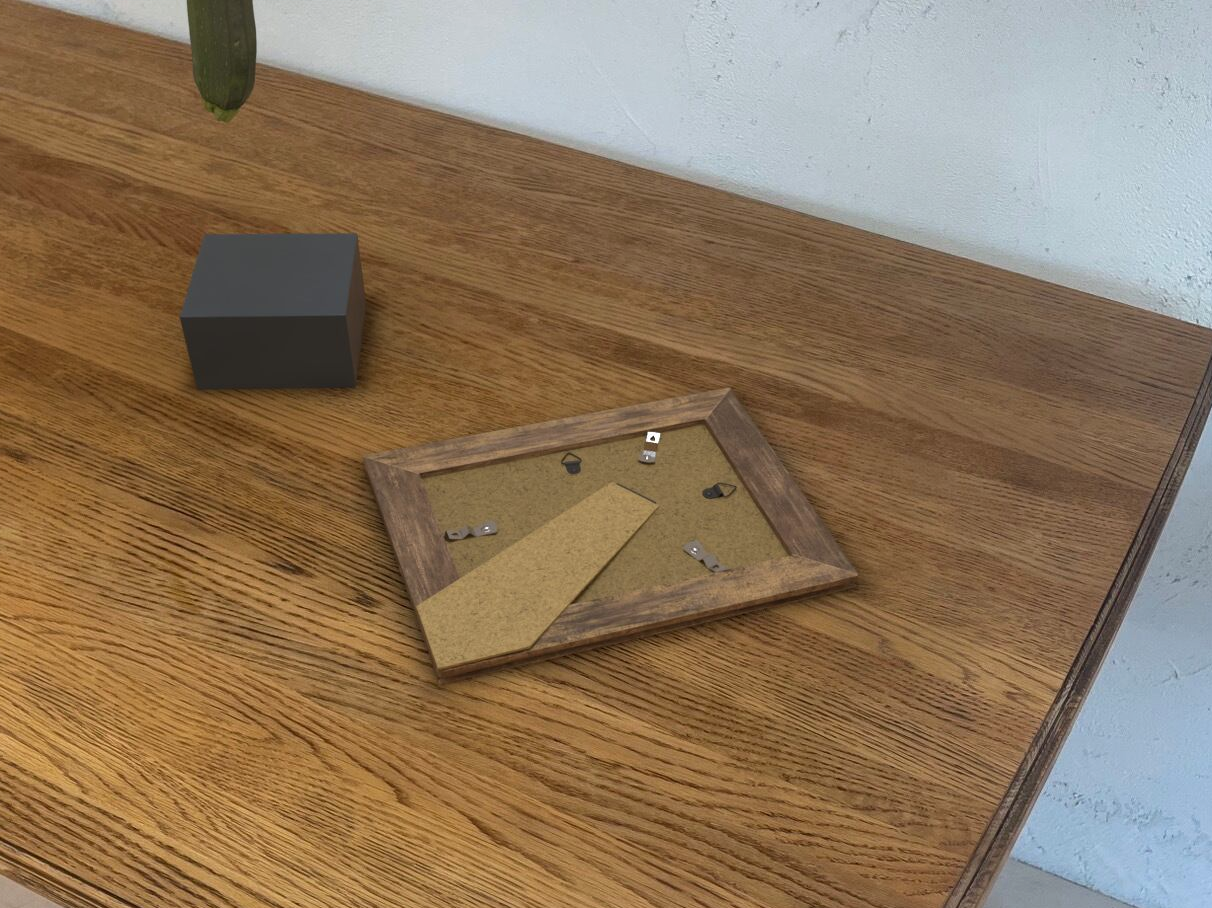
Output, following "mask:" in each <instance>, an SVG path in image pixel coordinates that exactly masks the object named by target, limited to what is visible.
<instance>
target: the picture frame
mask: <svg viewBox="0 0 1212 908" xmlns="http://www.w3.org/2000/svg"><path fill="white" fill-rule="evenodd" d="M362 459H363V464H364V472H365V474H366V478H367V480H368V484H369V485H370V489H371V491H372V495H373V498H374V500H375V503H376V506H377V509H378V512H379V515H380V518H381V520H382V523H383V526H384V529H385V532H386V535H387V538H388V541H389V543H390V547H391V549H392V553H393V555H394V559H395V561H396V564H397V567H398V569H399V573H400V576H401V578H402V580H403V584H404V587H405V589H406V592H407V595H408V598H409V601H410V604H411V607H412V610H413V613H414V615H415V618H416V622H417V624H418V627H419V630H420V633H421V636H422V639H423V641H424V645H425V648H426V651H427V653H428V656H429V659H430V662H431V665H432V668H433V670H434V673H435V676H436V680H437V682H438V685H446V684H451V683H454V682H459V681H463V680H468V679H472V678H476V677H480V676H484V675H485V676H486V675H489V674H493V673H497V672H501V671H502V672H503V671H505V670H506V671H507V670H510V669H514V668H515V669H516V668H519V667H524V666H527V665H531V664H535V663H541V662H544V661H548V660H552V659H557V658H562V657H566V656H570V655H573V654H578V653H582V652H587V651H591V650H595V649H600V648H604V647H608V646H614V645H616V644H620V643H625V642H629V641H634V640H639V639H642V638H647V637H650V636H655V635H660V634H663V633H664V634H665V633H668V632H673V631H676V630H680V629H685V628H689V627H694V626H698V625H702V624H706V623H710V622H716V621H719V620H723V619H727V618H733V617H737V616H740V615H745V614H749V613H753V612H757V611H762V610H767V609H770V608H775V607H780V606H783V605H787V604H792V603H795V602H796V603H797V602H800V601H804V600H809V599H813V598H817V597H821V596H825V595H829V594H834V593H839V592H842V591H847V590H852V589H855V588H857V584H856V582H858V579H859V572H857V569H855V567H854V566H853V564H852V563H851V562H850V560H849V558H848V557H847V556H846V554H845V553H844V551H843V550H842V548H841V547H840V545H839V544H838V542H837V541H836V539H835V538H834V536H833V535H832V534H831V532H830V531H829V529H828V528H827V526H826V525H825V524H824V522H823V521H822V519H821V517H820V516H819V515H818V513H817V512H816V510H815V509H814V508H813V506H812V504H811V503H810V501H809V500H808V499H807V497H806V496H805V495H804V493H803V491H802V490H801V489H800V487H799V486H798V484H797V483H796V481H795V480H794V479H793V477H792V475H791V474H790V472H789V471H788V470H787V468H786V467H785V465H784V464H783V463H782V461H781V459H780V458H779V457H778V455H777V454H776V453H775V450H774V449H773V448H772V446H771V445H770V444H769V442H768V441H767V439H766V437H765V436H764V435H763V433H762V431H761V430H760V429H759V428H758V426H757V425H756V423H755V421H754V420H753V419H752V417H751V416H750V415H749V413H748V411H747V410H746V408H745V407H744V406H743V404H742V403H741V401H740V400H739V398H738V397H737V396H736V394H735V393H734V391H733V390H732V388H731V387H725V388H724V387H723V388H719V389H713V390H708V391H703V392H698V393H692V394H686V395H681V396H676V397H671V398H665V399H659V400H654V401H649V402H644V403H638V404H637V403H636V404H632V405H627V406H621V407H617V408H611V409H606V410H600V411H595V412H589V413H585V414H584V413H583V414H579V415H574V416H567V417H563V418H557V419H551V420H547V421H541V422H536V423H530V424H524V425H520V426H514V427H507V428H503V429H498V430H493V431H492V430H491V431H487V432H482V433H476V434H470V435H465V436H460V437H455V438H449V439H444V440H443V439H442V440H437V441H433V442H428V443H422V444H418V445H411V446H405V447H400V448H397V449H396V448H395V449H390V450H383V451H380V452H374V453H373V452H372V453H367V454H364V455H362Z"/></svg>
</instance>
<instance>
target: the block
mask: <svg viewBox="0 0 1212 908" xmlns="http://www.w3.org/2000/svg"><path fill="white" fill-rule="evenodd" d="M201 240H202V241H201V244H200V247H199V251H198V253H197V257H196V261H195V264H194V268H193V271H192V273H191V278H190V281H189V284H188V287H187V290H186V294H185V297H184V301H183V304H182V307H181V311H180V314H179V320H180V321H179V322H180V324H181V329H182V333H183V337H184V338H183V339H184V341H185V346H186V350H187V353H188V358H189V362H190V366H191V370H192V371H191V372H192V375H193V378H194V383H195V387H196V390H197V391H221V390H222V391H223V390H224V391H225V390H227V391H228V390H229V391H230V390H231V391H233V390H293V389H297V390H298V389H355V388H357V382H358V375H359V368H360V367H359V366H360V358H361V350H362V343H363V334H364V325H365V318H366V309H367V299H366V298H367V297H366V292H365V291H366V290H365V283H364V275H363V268H362V267H363V266H362V260H361V259H362V257H361V252H360V244H359V235H358V233H356V232H354V233H353V232H352V233H351V232H348V233H347V232H345V233H344V232H343V233H342V232H339V233H336V232H335V233H334V232H333V233H331V232H329V233H325V232H324V233H323V232H322V233H205V234H204V235H203V238H202V239H201Z"/></svg>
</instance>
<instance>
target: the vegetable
mask: <svg viewBox="0 0 1212 908" xmlns="http://www.w3.org/2000/svg"><path fill="white" fill-rule="evenodd" d="M186 11H187V12H186V13H187V14H186V15H187V23H188V35H189V42H190V50H191V61H192V75H193V80H194V82H195V85H196V88H197V91H198V92H199V95H200V97H201V102H202V103H203V106H204V109H205V110H206V111H207V112H208V113H212V114H213V116H214V119H216V120H217V121H218V122H223V123H230V122H231V121H232V120H234V118H235V117H236V116H237V115H238V113H239V111H240V109H241V107H242V106H243V105H244V104H245V103H246V102H247V100H248V99H249V98H250V96H251V95H252V94H253V93H252V92H253V90H254V87H255V82H256V66H257V54H258V52H257V51H258V48H257V47H258V43H257V42H258V41H257V25H256V18H255V12H254V11H255V10H254V1H253V0H186Z"/></svg>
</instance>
